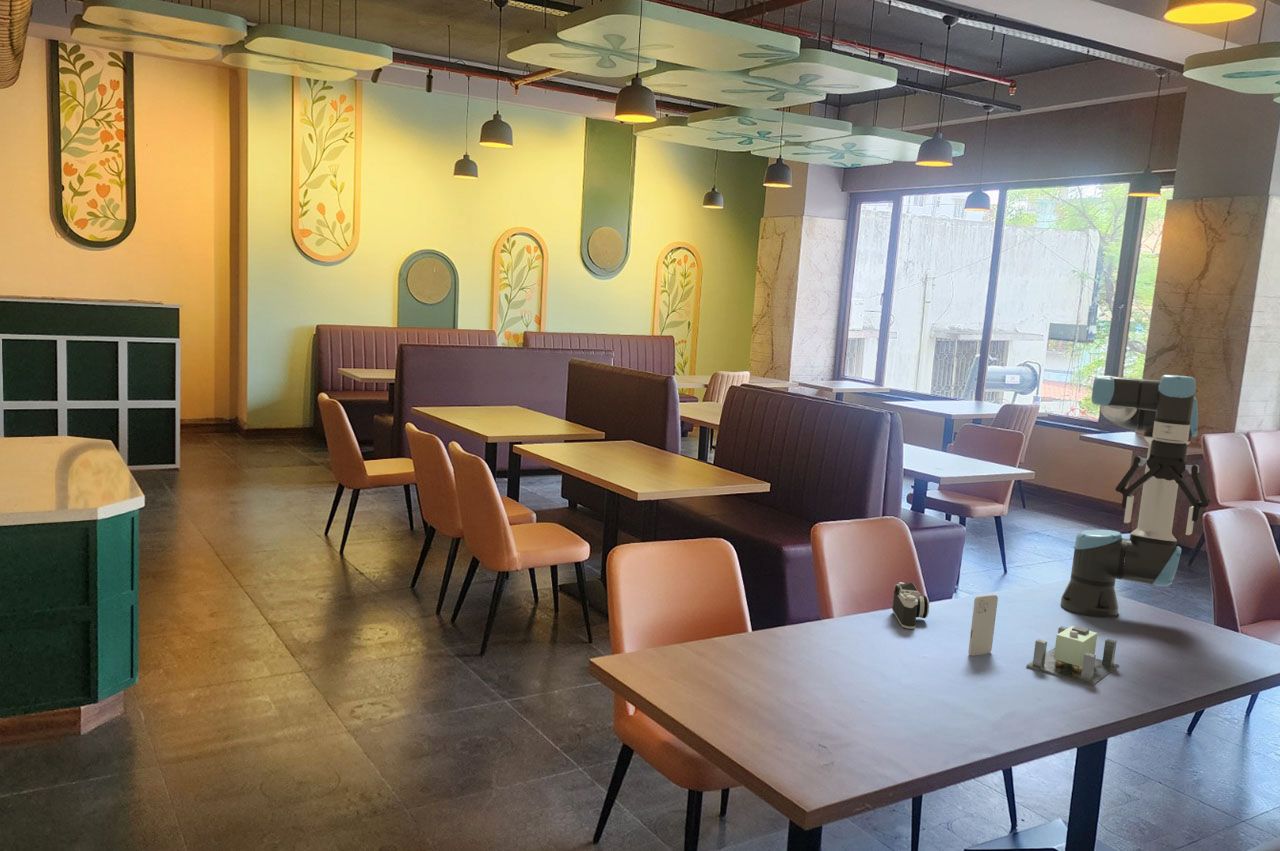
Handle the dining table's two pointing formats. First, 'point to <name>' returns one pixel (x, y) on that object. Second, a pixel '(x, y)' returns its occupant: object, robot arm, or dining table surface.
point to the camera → (909, 604)
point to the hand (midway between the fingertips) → (1157, 528)
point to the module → (1074, 645)
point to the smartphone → (983, 624)
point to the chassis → (1084, 674)
